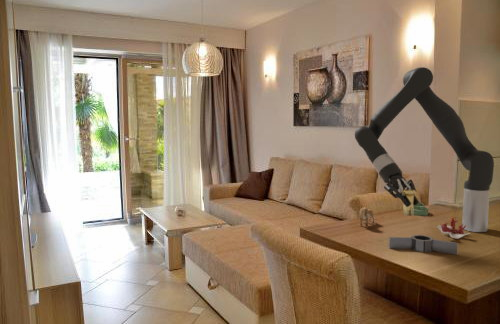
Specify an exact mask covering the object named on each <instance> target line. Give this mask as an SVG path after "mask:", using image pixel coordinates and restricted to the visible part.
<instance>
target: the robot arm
mask: <svg viewBox="0 0 500 324" xmlns="http://www.w3.org/2000/svg"><path fill="white" fill-rule="evenodd" d="M433 79H434V74H433V72H432V71H431V70H430V69H429V68H427V67H423V66H422V67H417V68H414V69H411V70H409V71H407V72H406V73H404V75H403V78H402V83H403V87H402V88H401V89H400V90H399V91H398V92H396V94H395V95H394V96H392V97H391V98H390V99H389V100H388V101H386V102H385V103H384V104H383V105H382V106H381V107H380V108H379V109H378V110H377V111H376V112H375V113H374V114H373V115H372V116H371V118H370V121H369V124H368V126H365V125H362V126H358V127H357V128H356V130H355V131H354V139H355V140H356V142H357V144H358V146H359V147H360V148H362V149H363V151H364V152H365V154H366V156H367V158H368V159H369V162H371V164H372V165H373V167H374V169H375V170H376V172H377V174H378V175H379V176H380V179H382V181H383V182H384V183H385V185H384V186H383V188H384V189H385V191H386V192H388V193H389V194H390V195H391V196H392V197H393V198H394V199H397V198H398V199H399V200H401V202H402V204H403V203H404V205H405V206H406V207H409V206H410V205H411V202H410V200H409V199H408V198H407V196H406V195H405V194H404V193H403V192H402V190H403V189H412V190H416V191H417V189H416V186H415V184H414V181H413V180H412V179H409V180H406V178H405V177H404V176H403V170H401V168H400V167H399V165H398V164H397V163H396V161H395V160H394V158H393V157H392V156H391V155H390V154H389V153H388V151H387V150H386V149H385V148H384V146H383V145H382V144H381V143H380V142H379V139H380V137H381V135H382V134H383V132H384V130H385V129H386V128H387V127H388V126H389V125H390V124H391V123H392V122H393V121H394V119H396V117H398V115H399V114H400V112H402V111H403V110H404V109H405V108H406V107H407V106H408V105H409V104H410V103H411V102H412V101H413V100H414V99H415V101H416V102H417V103H418V104H419V106H420V107H422V109H423V111H424V112H425V113H426V115H427V116H428V117H429V119H430V120H431V122H432V123H433V125H434V126H435V128H437V130H438V132H439V133H440V134H441V136H442V137H443V138H444V139H445V141H446V142H447V143H448V144H449V145H450V147H451V148H452V150H453V151H454V153H455V154H456V156H457V158H458V160H459V162H460V163H461V165H462V167H464V169H465V170H467V171H469V175H468V179H467V180H465V181H464V184H463V199H462V200H463V204H462V219H461V220H462V223H461V225H462V224H463V226H462V227H464V226H465V225H466V227H465V228H464V230H465V231H468V232H473V233H485V232H488V222H489V205H490V189H491V184H492V183H493V180H494V179H493V178H494V177H493V176H494V170H495V169H494V167H495V165H494V164H495V161H494V157H493V155H492V154H491V153H490V152H488V151H484V150H479V149H477V148H476V146H474V144H473V143H472V142H471V141H470V139H469V138H468V136H467V132H466V128H465V125H464V122H463V120H462V119H461V117H460V116H459V115H458V113H457V111H455V110H454V108H453V107H452V105H450V104H449V103H447V102H446V101H445V100H443V99H442V98H441V97H439V96H438V95H436V93H435V92H434V91H433V90H432V89H431V85H432V83H433V82H434V80H433ZM404 195H405V196H404ZM419 201H420V200H419V199H418V198H417V196H416V194H414V205H417V204H418V203H419ZM464 230H463V231H464Z"/></svg>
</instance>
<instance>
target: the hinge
mask: <svg viewBox="0 0 500 324" xmlns="http://www.w3.org/2000/svg"><path fill="white" fill-rule="evenodd" d="M458 244H459V243H458V242H455V241H449V240H448V241H447V240H440V239H436V238H435V239H434V237H431V236H429V235H424V234H412V235H411V236H410V237H407V236H402V237H401V236H389V237H388V248H389V249H391V250H392V249H398V250H399V249H400V250H404V249H405V250H406V249H407V250H413V251H415V252H421V253H431V252H437V253H443V254H448V255H456V256H457V255H458V247H459V245H458Z"/></svg>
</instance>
